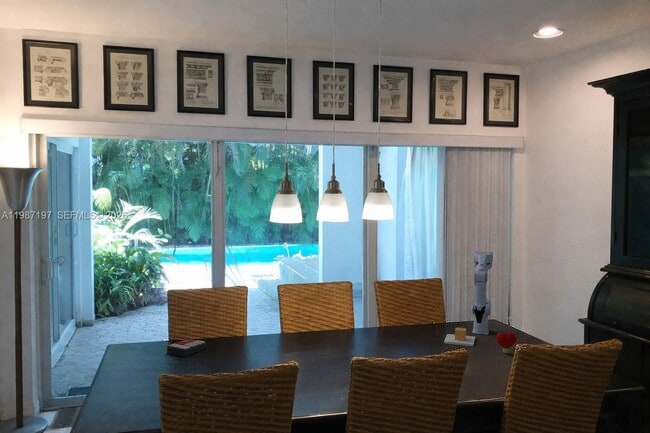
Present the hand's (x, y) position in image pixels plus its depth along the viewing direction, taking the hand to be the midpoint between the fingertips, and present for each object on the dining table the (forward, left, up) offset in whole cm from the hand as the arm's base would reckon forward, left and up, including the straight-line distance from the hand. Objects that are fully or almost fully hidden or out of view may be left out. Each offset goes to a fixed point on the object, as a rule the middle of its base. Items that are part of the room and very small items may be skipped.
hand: (479, 321), depth 270 cm
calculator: (+68, -128, -10) cm, 145 cm away
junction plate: (+6, -9, -9) cm, 14 cm away
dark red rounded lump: (+19, +13, -10) cm, 25 cm away
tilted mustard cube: (+6, -9, -8) cm, 14 cm away
